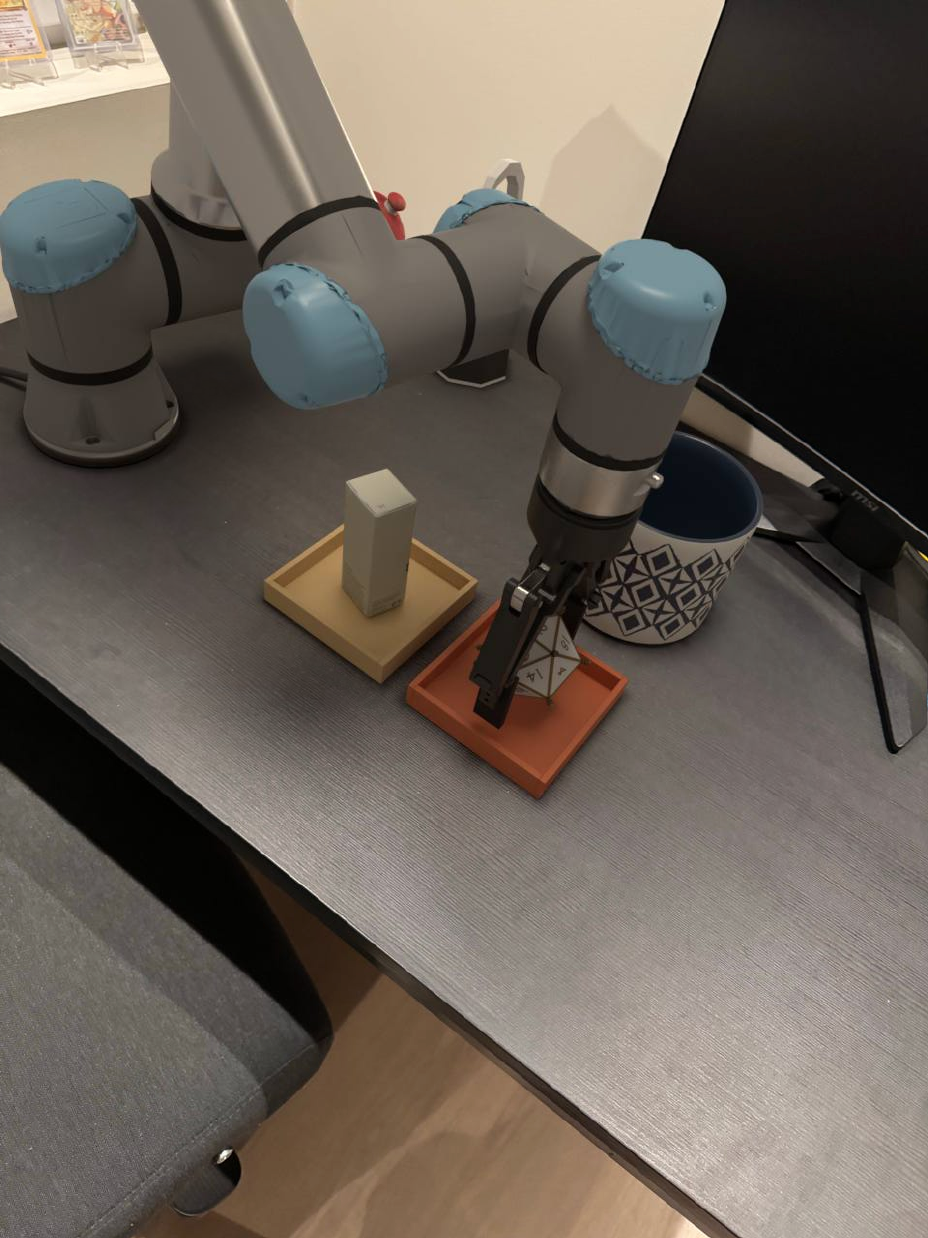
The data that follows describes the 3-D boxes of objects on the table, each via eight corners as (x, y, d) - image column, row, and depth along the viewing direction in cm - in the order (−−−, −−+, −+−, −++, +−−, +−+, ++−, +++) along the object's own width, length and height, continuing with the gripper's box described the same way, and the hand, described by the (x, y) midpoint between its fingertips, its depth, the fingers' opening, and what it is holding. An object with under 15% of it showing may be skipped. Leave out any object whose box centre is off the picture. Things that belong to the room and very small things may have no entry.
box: (405, 604, 80) (421, 502, 70) (365, 620, 78) (377, 518, 68) (376, 567, 82) (388, 465, 73) (337, 583, 80) (343, 479, 71)
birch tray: (264, 599, 78) (263, 580, 76) (364, 525, 87) (366, 507, 85) (380, 684, 74) (383, 666, 72) (474, 598, 83) (478, 580, 81)
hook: (486, 398, 105) (529, 193, 86) (410, 365, 107) (436, 157, 88) (523, 359, 112) (571, 162, 93) (451, 328, 114) (484, 129, 96)
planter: (545, 530, 91) (579, 420, 80) (683, 537, 94) (734, 432, 83) (570, 645, 81) (613, 538, 70) (724, 650, 83) (788, 547, 73)
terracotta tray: (404, 702, 73) (408, 684, 71) (497, 613, 82) (502, 596, 80) (538, 799, 69) (545, 783, 67) (621, 696, 78) (629, 679, 76)
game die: (529, 721, 76) (579, 729, 66) (448, 679, 73) (487, 680, 64) (569, 633, 77) (623, 627, 68) (491, 589, 75) (536, 577, 66)
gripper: (549, 603, 49) (482, 792, 66) (709, 441, 62) (620, 632, 79) (447, 538, 51) (408, 736, 68) (623, 395, 64) (554, 590, 81)
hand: (522, 680), depth 73 cm, fingers closed on game die, 10 cm apart
